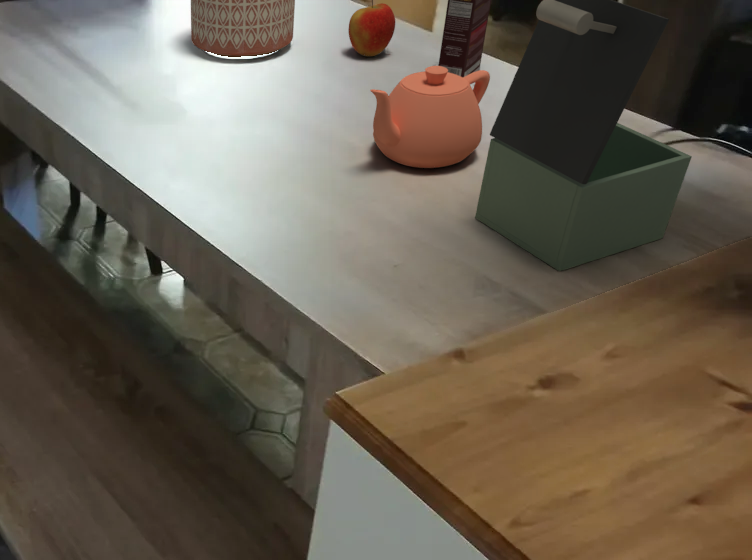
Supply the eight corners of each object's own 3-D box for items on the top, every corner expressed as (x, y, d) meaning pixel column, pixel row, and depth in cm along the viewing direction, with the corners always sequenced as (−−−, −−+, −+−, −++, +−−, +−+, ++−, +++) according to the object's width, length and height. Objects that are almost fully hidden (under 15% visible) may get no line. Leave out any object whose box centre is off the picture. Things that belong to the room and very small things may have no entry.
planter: (239, 23, 186) (241, -59, 176) (313, 43, 175) (319, -42, 165) (170, 48, 177) (168, -37, 167) (243, 71, 166) (245, -18, 156)
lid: (559, -18, 105) (517, -28, 102) (669, 19, 95) (625, 8, 91) (493, 135, 115) (452, 130, 112) (586, 184, 104) (543, 180, 101)
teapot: (395, 192, 129) (407, 104, 121) (328, 154, 139) (335, 70, 131) (512, 153, 136) (531, 68, 128) (441, 120, 146) (454, 39, 138)
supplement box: (453, 66, 163) (469, -32, 153) (480, 71, 161) (498, -29, 150) (433, 82, 158) (449, -19, 148) (460, 87, 156) (478, -15, 145)
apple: (365, 65, 166) (372, 5, 159) (337, 52, 171) (342, -6, 164) (400, 55, 168) (408, -3, 162) (372, 43, 174) (378, -14, 167)
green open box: (572, 189, 127) (593, 111, 120) (662, 238, 116) (692, 156, 109) (474, 217, 122) (490, 138, 115) (559, 271, 112) (582, 188, 104)
